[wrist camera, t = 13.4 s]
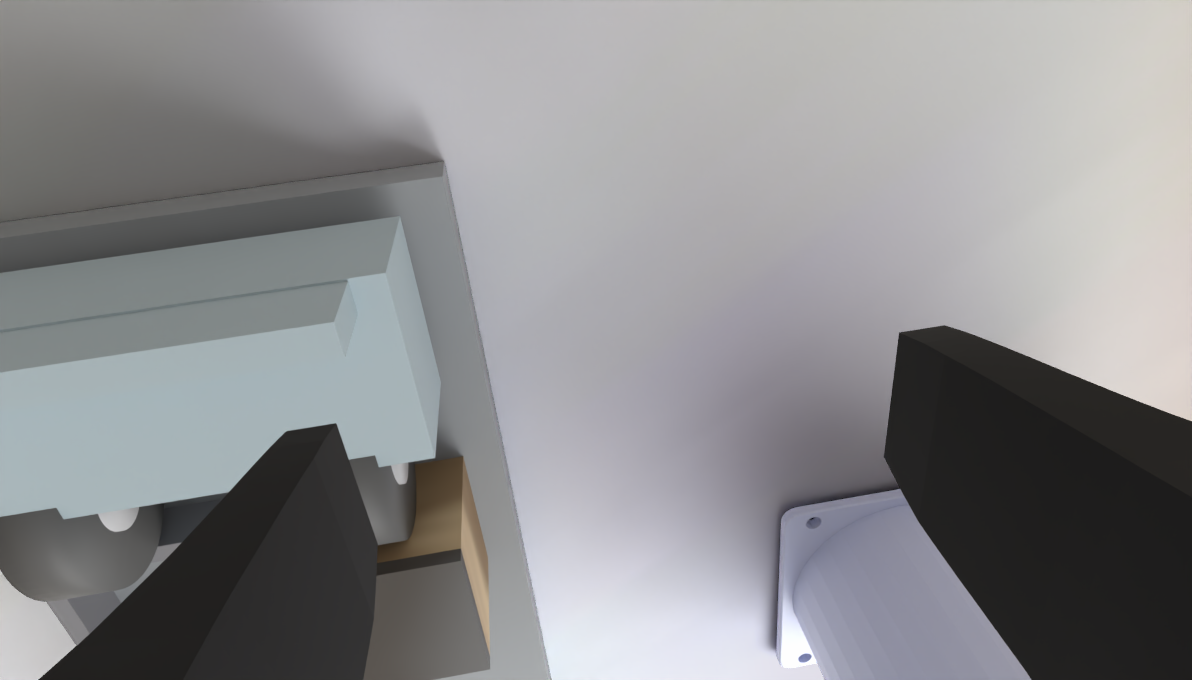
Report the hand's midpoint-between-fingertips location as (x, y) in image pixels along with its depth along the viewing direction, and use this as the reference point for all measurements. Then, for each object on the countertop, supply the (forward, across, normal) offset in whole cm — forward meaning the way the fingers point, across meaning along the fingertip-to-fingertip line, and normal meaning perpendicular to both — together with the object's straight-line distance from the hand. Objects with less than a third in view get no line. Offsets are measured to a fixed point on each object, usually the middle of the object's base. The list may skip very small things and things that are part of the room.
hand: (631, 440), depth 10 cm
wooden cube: (+9, +6, +9) cm, 14 cm away
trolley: (+9, +9, +3) cm, 13 cm away
